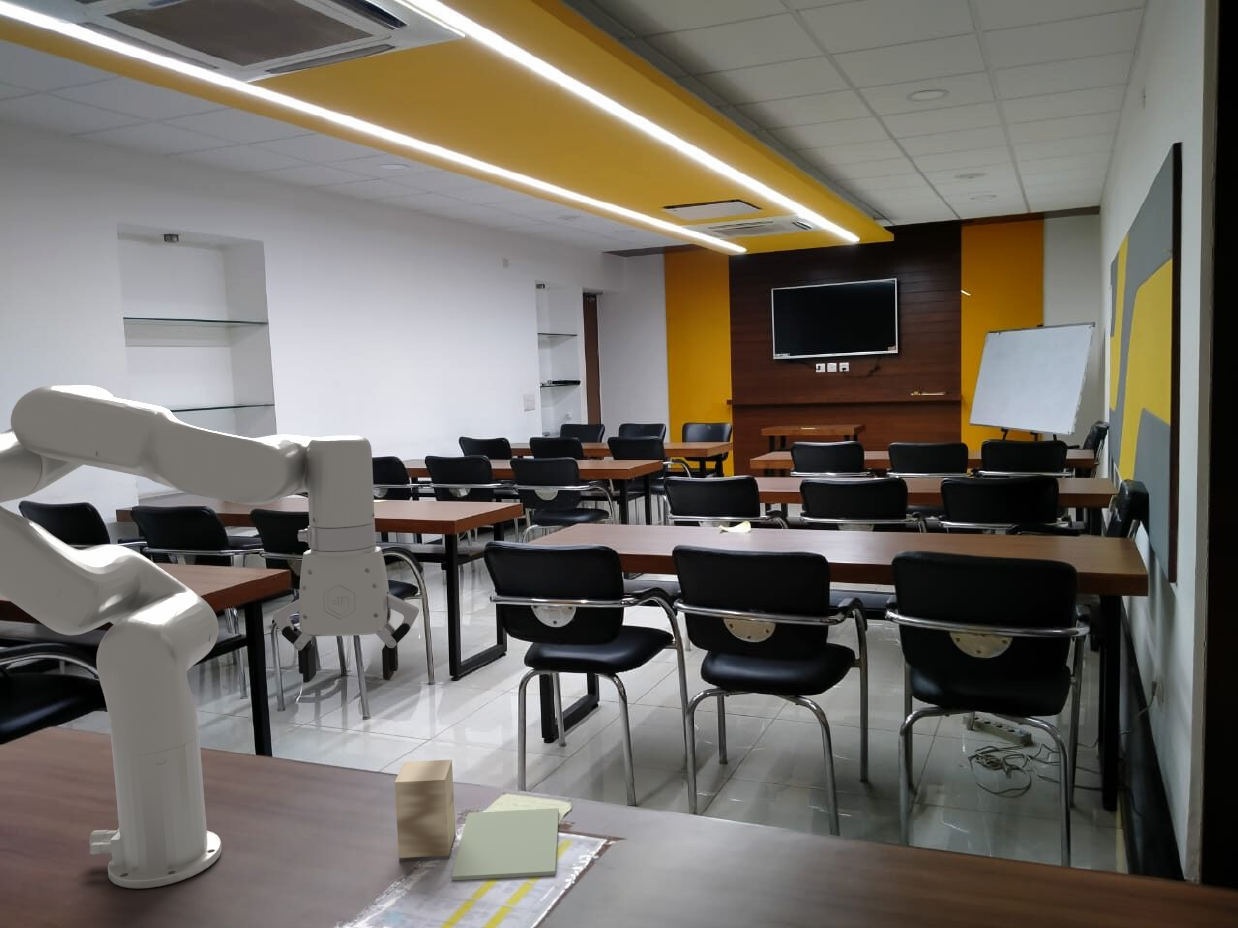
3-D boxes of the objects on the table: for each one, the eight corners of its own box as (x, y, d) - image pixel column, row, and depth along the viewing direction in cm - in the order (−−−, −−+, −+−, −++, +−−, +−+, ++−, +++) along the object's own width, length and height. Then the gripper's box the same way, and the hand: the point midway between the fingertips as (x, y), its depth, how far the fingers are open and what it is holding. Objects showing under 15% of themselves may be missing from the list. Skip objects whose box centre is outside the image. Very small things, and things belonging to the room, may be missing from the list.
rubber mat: (451, 880, 110) (451, 876, 109) (468, 816, 125) (468, 812, 125) (555, 874, 110) (555, 870, 110) (558, 811, 126) (558, 808, 126)
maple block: (399, 861, 114) (394, 782, 113) (408, 837, 120) (403, 761, 119) (449, 859, 114) (444, 779, 114) (455, 835, 120) (451, 759, 119)
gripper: (259, 546, 109) (267, 690, 111) (410, 542, 110) (415, 686, 112) (280, 535, 117) (286, 670, 118) (421, 531, 117) (426, 666, 119)
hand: (349, 677), depth 115 cm, fingers open, 9 cm apart
